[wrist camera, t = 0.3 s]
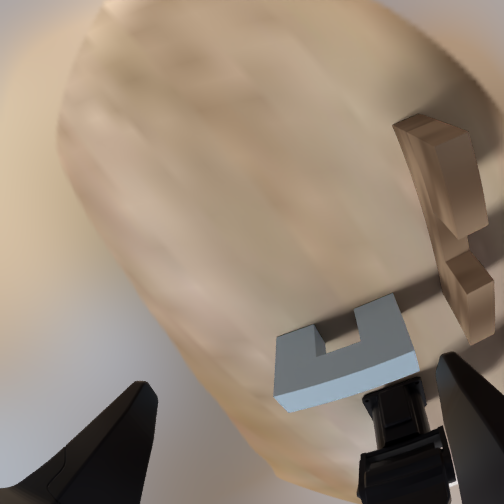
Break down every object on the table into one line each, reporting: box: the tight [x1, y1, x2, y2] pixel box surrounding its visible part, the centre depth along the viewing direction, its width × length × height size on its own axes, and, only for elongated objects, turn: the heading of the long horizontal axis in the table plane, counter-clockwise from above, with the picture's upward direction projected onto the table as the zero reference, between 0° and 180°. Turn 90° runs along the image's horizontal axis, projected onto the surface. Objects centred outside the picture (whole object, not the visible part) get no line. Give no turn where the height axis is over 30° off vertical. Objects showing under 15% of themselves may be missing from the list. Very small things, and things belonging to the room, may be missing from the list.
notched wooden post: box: [392, 114, 495, 346], centre depth 17 cm, size 14×2×6 cm, turn 30°
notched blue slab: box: [273, 293, 420, 413], centre depth 22 cm, size 2×10×6 cm, turn 120°
